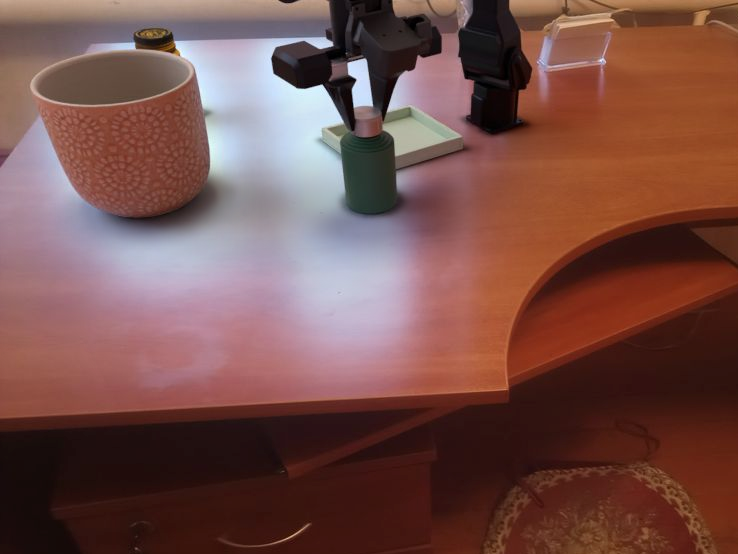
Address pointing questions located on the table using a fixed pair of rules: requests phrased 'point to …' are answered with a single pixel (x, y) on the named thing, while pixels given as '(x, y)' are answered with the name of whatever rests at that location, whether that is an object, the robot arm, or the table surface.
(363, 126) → the cap
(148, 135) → the planter
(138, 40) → the condiment
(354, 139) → the bottle
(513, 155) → the table surface
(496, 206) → the table surface
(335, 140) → the tray
